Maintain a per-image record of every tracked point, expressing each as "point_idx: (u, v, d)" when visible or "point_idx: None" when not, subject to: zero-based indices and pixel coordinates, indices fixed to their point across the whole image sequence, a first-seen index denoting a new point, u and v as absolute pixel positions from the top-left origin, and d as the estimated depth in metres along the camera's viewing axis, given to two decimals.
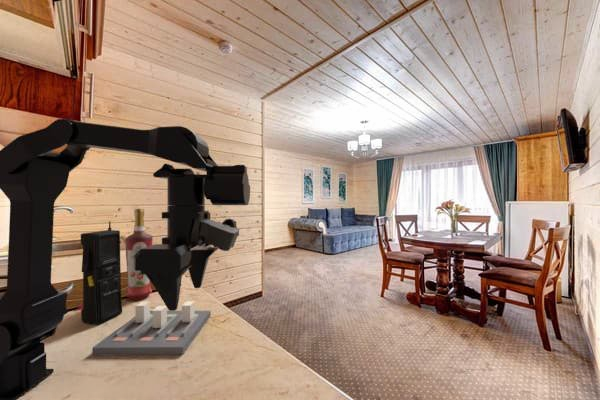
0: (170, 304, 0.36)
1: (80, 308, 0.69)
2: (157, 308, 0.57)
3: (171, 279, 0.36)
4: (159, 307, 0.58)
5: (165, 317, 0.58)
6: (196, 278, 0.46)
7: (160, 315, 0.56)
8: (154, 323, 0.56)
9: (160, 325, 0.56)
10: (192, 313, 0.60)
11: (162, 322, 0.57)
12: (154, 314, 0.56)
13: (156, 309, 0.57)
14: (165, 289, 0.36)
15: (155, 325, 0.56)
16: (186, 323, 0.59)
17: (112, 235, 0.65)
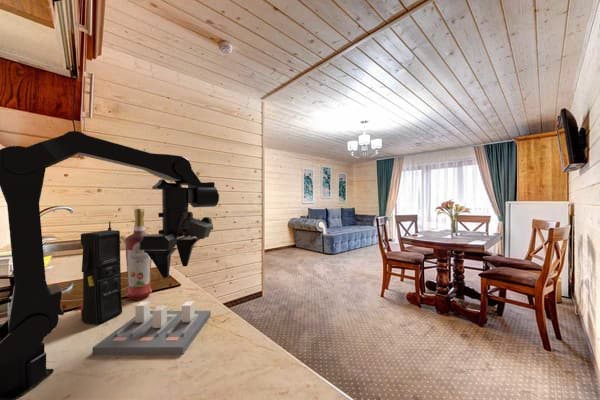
0: (163, 273, 0.56)
1: (81, 308, 0.69)
2: (157, 308, 0.57)
3: (164, 256, 0.55)
4: (159, 307, 0.58)
5: (165, 317, 0.58)
6: (184, 259, 0.65)
7: (160, 315, 0.56)
8: (154, 323, 0.56)
9: (160, 325, 0.56)
10: (192, 313, 0.60)
11: (162, 322, 0.57)
12: (154, 314, 0.56)
13: (156, 309, 0.57)
14: (160, 263, 0.55)
15: (155, 325, 0.56)
16: (186, 323, 0.59)
17: (112, 235, 0.65)
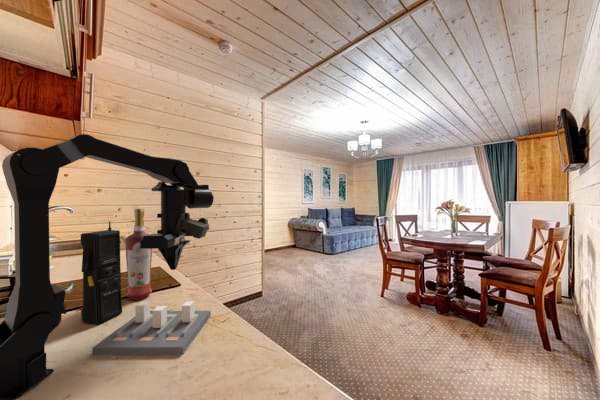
0: (171, 266, 0.63)
1: (82, 308, 0.69)
2: (157, 308, 0.57)
3: (172, 251, 0.62)
4: (159, 307, 0.58)
5: (165, 317, 0.58)
6: None
7: (160, 315, 0.56)
8: (154, 323, 0.56)
9: (160, 325, 0.56)
10: (192, 313, 0.60)
11: (162, 322, 0.57)
12: (154, 314, 0.56)
13: (156, 309, 0.57)
14: (168, 257, 0.62)
15: (155, 325, 0.56)
16: (186, 323, 0.59)
17: (112, 235, 0.65)
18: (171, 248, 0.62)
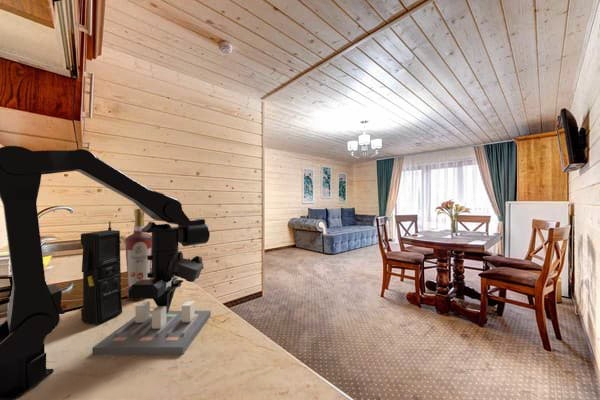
0: None
1: None
2: (156, 308, 0.57)
3: (163, 295, 0.58)
4: (158, 307, 0.57)
5: (164, 317, 0.58)
6: None
7: (159, 316, 0.56)
8: (153, 324, 0.56)
9: (160, 326, 0.56)
10: (192, 313, 0.60)
11: (161, 323, 0.56)
12: (153, 315, 0.56)
13: (155, 309, 0.56)
14: (160, 301, 0.58)
15: (154, 326, 0.56)
16: (186, 323, 0.59)
17: (112, 235, 0.65)
18: None
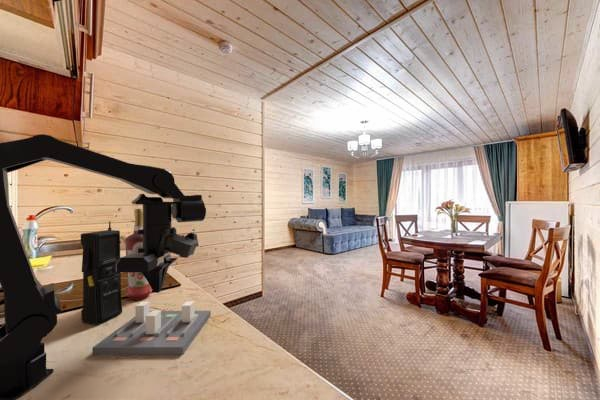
0: (155, 288, 0.56)
1: None
2: (150, 313, 0.55)
3: (155, 272, 0.55)
4: (153, 312, 0.55)
5: (159, 323, 0.55)
6: None
7: (154, 321, 0.54)
8: (147, 329, 0.54)
9: (154, 331, 0.54)
10: (192, 313, 0.60)
11: (156, 328, 0.54)
12: (147, 320, 0.54)
13: (149, 314, 0.54)
14: (151, 278, 0.55)
15: (148, 331, 0.54)
16: (186, 323, 0.59)
17: (112, 235, 0.65)
18: (154, 268, 0.55)
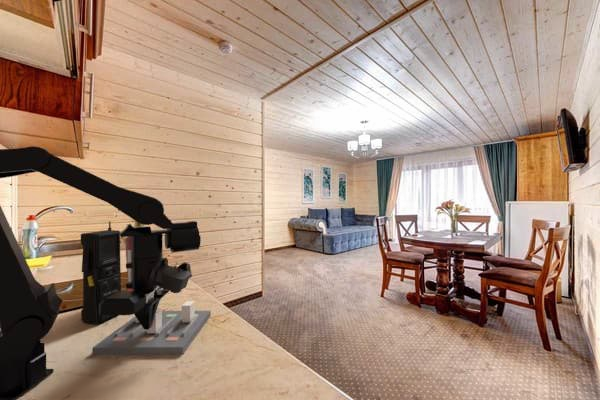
0: (145, 325, 0.52)
1: None
2: None
3: (145, 308, 0.51)
4: None
5: (160, 322, 0.56)
6: None
7: (154, 320, 0.54)
8: None
9: (155, 330, 0.54)
10: (192, 313, 0.60)
11: (157, 327, 0.54)
12: None
13: None
14: (141, 315, 0.51)
15: (149, 330, 0.54)
16: (186, 323, 0.59)
17: (112, 235, 0.65)
18: None
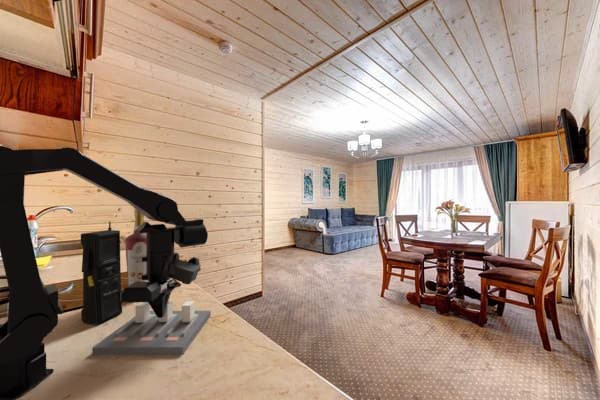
0: (158, 313, 0.57)
1: None
2: None
3: (159, 298, 0.56)
4: None
5: (171, 312, 0.61)
6: None
7: (166, 310, 0.59)
8: None
9: (166, 319, 0.59)
10: (192, 313, 0.60)
11: (168, 316, 0.59)
12: None
13: None
14: (155, 304, 0.56)
15: (161, 319, 0.59)
16: (186, 323, 0.59)
17: (112, 235, 0.65)
18: None
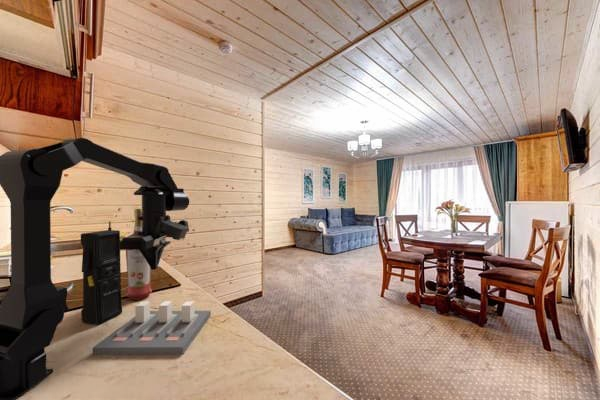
0: (152, 266, 0.67)
1: None
2: (163, 303, 0.60)
3: (152, 252, 0.66)
4: (165, 302, 0.60)
5: (171, 312, 0.60)
6: None
7: (166, 310, 0.59)
8: (160, 318, 0.59)
9: (166, 320, 0.59)
10: (192, 313, 0.60)
11: (168, 317, 0.59)
12: (160, 309, 0.59)
13: (162, 304, 0.59)
14: (149, 257, 0.66)
15: (161, 319, 0.59)
16: (186, 323, 0.59)
17: (112, 235, 0.65)
18: (151, 249, 0.66)
